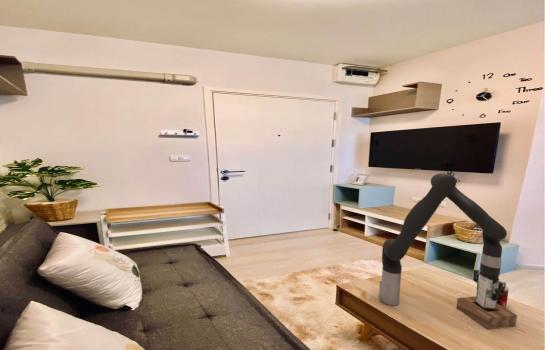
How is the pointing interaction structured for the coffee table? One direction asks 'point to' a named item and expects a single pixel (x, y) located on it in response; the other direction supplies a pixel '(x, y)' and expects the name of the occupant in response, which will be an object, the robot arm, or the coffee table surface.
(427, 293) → the coffee table surface
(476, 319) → the hollow square frame
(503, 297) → the canned food
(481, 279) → the syrup box
